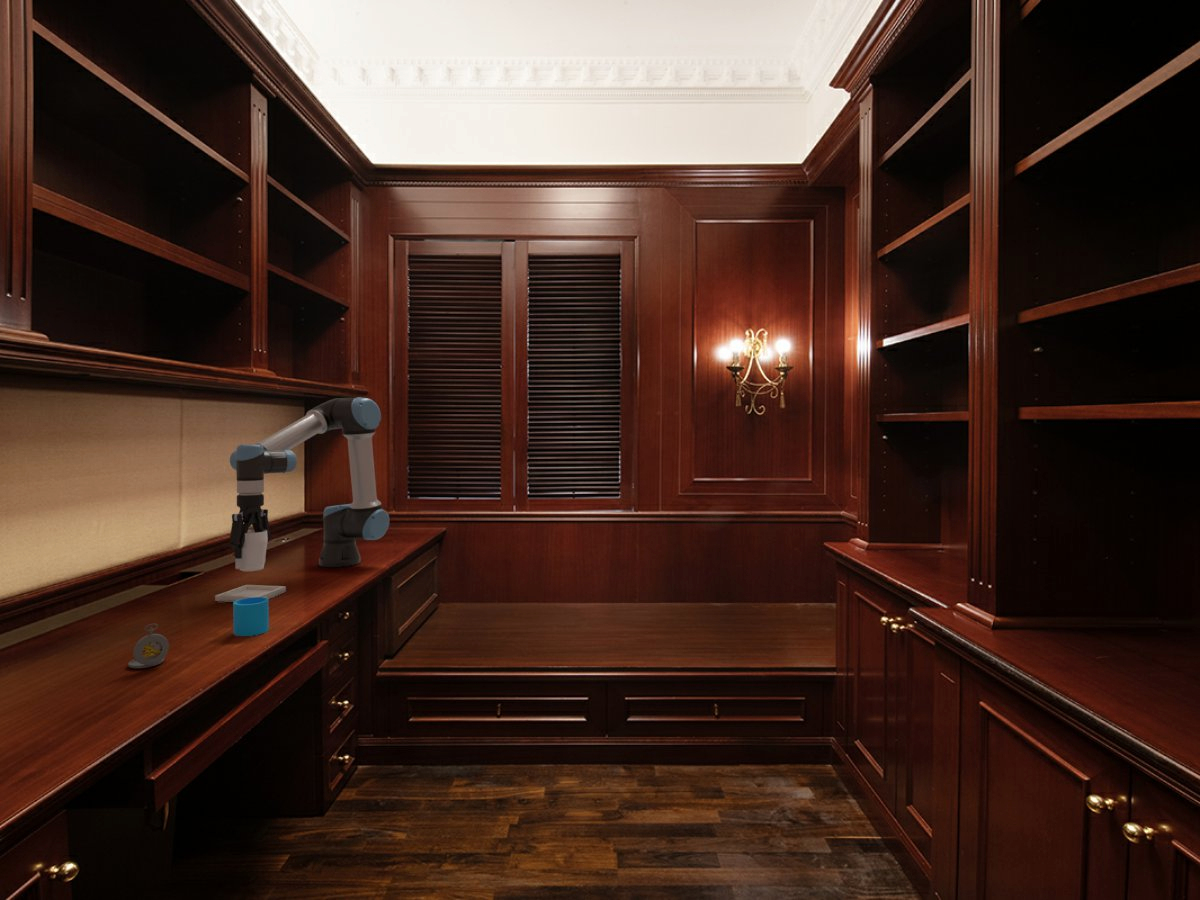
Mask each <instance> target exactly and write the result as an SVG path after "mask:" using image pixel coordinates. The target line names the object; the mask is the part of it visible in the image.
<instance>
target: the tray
mask: <svg viewBox="0 0 1200 900" xmlns="http://www.w3.org/2000/svg"><path fill="white" fill-rule="evenodd" d="M286 588H287V586H283V585H282V586H281V585H263V584H262V585H260V584H257V585H256V584H245V585H242V586H239V587H236V588H233V589H230V590H228V591H224V592H222V593H218V594H215V595H214V599H215V600H214V602H215V601H225V602H235V601H237V600H240V599H244V598H251V597H265V598H268V600H270V598H271V599H273V598H276V597H278V595H279V596H281V595H283V594H282V593H284V592H286V593H287V589H286ZM280 594H281V595H280ZM284 594H285V593H284ZM275 596H276V597H275ZM225 602H224V603H225Z"/></svg>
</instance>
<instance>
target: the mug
mask: <svg viewBox="0 0 1200 900" xmlns="http://www.w3.org/2000/svg"><path fill="white" fill-rule="evenodd" d="M232 606H233V608H232V609H233V610H232V611H233V612H232V613H233V620H232V621H233V635H234V634H235V635H238V636H250V637H254V636H253V635H256V636H259V635H258V634H261V635H263V634H262V633H264V634H266V633H268V632H269V631H270V630H269V629H270V626H269V625H270V622H269V621H270V619H269V618H270V617H269V614H270V613H269V612H270V611H269V599H268V598H265V597H251V598H244V599H240V600H237V601H235V602H233V603H232ZM268 630H269V631H268ZM267 631H268V632H267ZM265 632H266V633H265ZM235 635H234V636H235ZM238 636H237V637H238Z"/></svg>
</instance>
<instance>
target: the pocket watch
mask: <svg viewBox="0 0 1200 900" xmlns="http://www.w3.org/2000/svg"><path fill="white" fill-rule="evenodd" d="M151 625H154V626H155V628H153V627H152V626H151ZM149 626H150V627H149ZM148 627H149V628H148ZM158 627H159V625H158V624H157V623H149V624H147V625H145V627H144V628H143V630H144V631H147V632H148V633H149V634H147V635H144V636H142V637H141V638H140V639H139V640H138V641H137V642H136V644H135V645H134V646H133V650H132V652H133V654H132V656H133V657H134V659H131V660H130V661H129V662H128V667H129V668H131V669H146V668H151V667H154V666H155V667H156V666H157V665H160V664H162V663H163V662H164V661H165V657H166V656H167V654H168V652H169V649H170V642H169V641H168V639H167V638H166V637H165V636H164V635H162V634H159V633H153V632H154V631H155V630H156V629H158ZM147 628H148V629H147Z"/></svg>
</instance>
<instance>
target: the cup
mask: <svg viewBox="0 0 1200 900" xmlns="http://www.w3.org/2000/svg"><path fill="white" fill-rule="evenodd" d="M267 541H268V537H267V530H266V529H263V532H258V533H255V531H254V528H251V529H250V528H248V532H247V533H245V542H244V545H243V548H245V569H239V570H240V571H241V572H255V571H261V570H263V569H265V568H264V567H265V563H264V562H265V555H267V547H268V542H267ZM239 544H240V543H239Z"/></svg>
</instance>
